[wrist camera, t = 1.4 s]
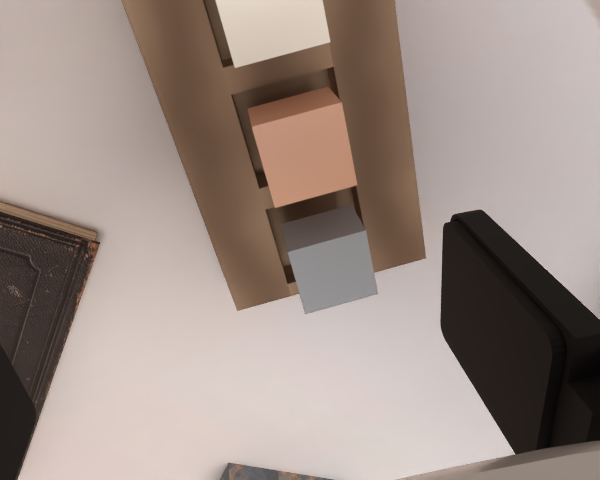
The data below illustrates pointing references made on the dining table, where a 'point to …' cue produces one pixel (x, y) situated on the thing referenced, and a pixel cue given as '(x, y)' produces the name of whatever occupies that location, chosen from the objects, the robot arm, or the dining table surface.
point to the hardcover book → (39, 293)
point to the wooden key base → (242, 145)
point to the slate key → (330, 258)
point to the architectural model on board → (261, 474)
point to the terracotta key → (303, 146)
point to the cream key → (271, 27)
